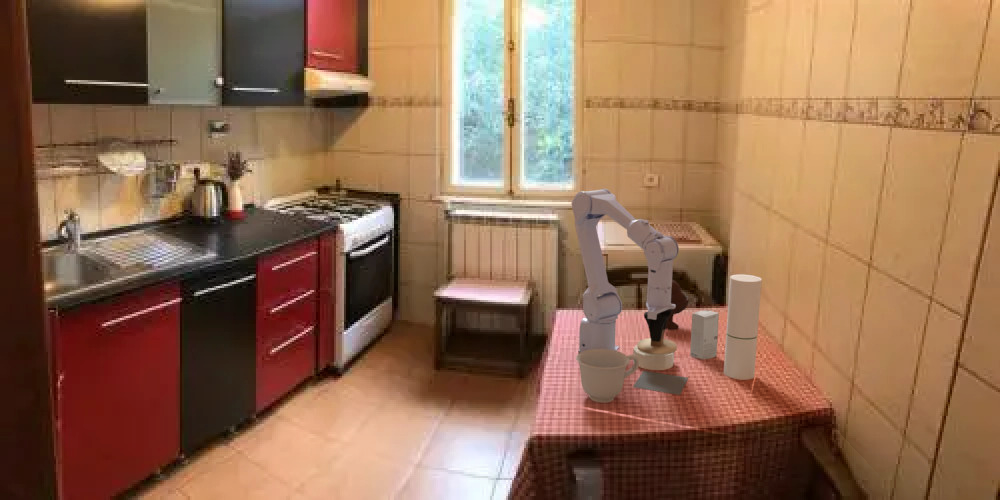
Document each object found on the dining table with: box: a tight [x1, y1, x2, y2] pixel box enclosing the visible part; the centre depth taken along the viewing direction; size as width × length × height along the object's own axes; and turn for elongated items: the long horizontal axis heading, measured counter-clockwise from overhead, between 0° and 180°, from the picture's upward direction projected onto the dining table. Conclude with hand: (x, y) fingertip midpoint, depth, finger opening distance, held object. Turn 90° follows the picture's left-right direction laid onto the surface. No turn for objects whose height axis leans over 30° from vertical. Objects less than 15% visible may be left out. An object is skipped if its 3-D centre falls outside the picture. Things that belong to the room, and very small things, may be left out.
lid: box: [636, 329, 678, 355], centre depth 166 cm, size 10×10×5 cm
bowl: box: [632, 344, 675, 371], centre depth 173 cm, size 10×10×4 cm
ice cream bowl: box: [665, 279, 690, 331], centre depth 201 cm, size 11×11×15 cm
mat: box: [632, 370, 689, 396], centre depth 160 cm, size 11×11×1 cm
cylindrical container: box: [723, 273, 763, 381], centre depth 163 cm, size 7×7×25 cm
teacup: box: [575, 349, 639, 404], centre depth 152 cm, size 12×15×10 cm
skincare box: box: [689, 309, 720, 360], centre depth 177 cm, size 6×4×12 cm
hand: (656, 338), depth 166 cm, fingers closed on lid, 3 cm apart
